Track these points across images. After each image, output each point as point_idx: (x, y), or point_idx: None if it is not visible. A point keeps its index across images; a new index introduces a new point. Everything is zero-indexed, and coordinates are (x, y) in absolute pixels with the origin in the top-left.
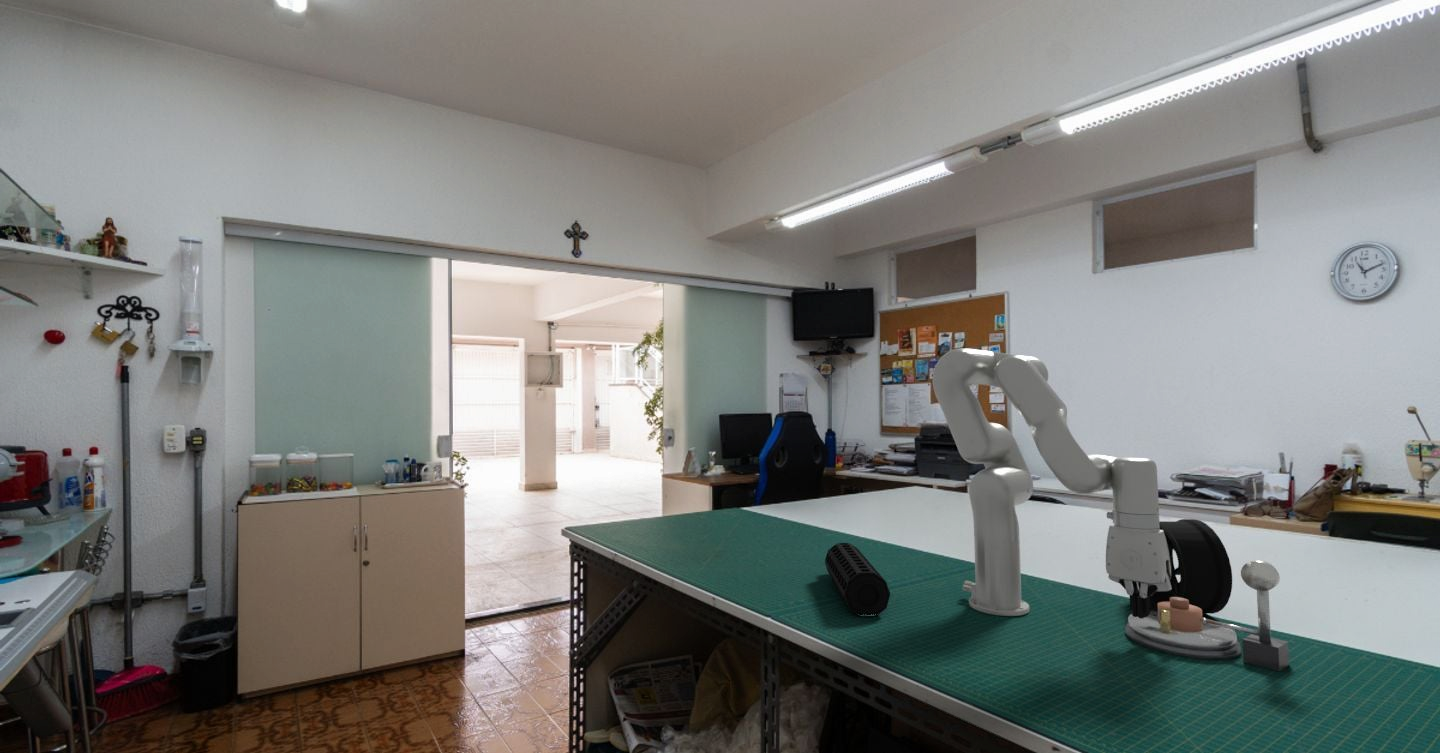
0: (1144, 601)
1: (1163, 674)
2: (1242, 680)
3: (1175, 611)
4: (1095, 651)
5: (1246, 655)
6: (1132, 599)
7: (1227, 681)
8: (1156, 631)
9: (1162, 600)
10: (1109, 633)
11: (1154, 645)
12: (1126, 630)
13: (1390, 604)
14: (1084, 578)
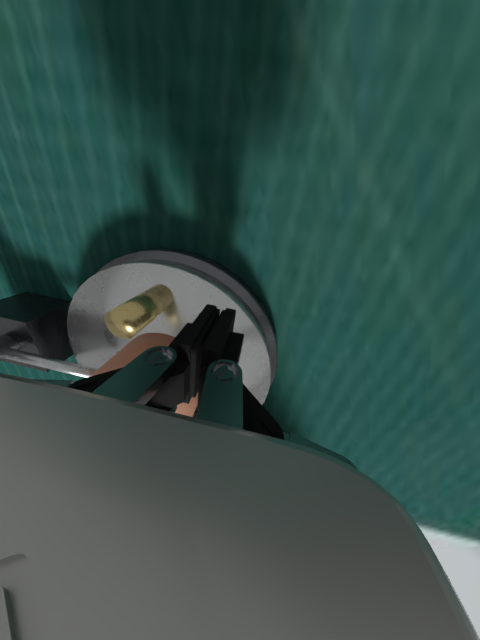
0: (176, 346)
1: (91, 7)
2: (6, 178)
3: (125, 363)
4: (321, 68)
5: (54, 306)
6: (218, 340)
7: (7, 135)
8: (179, 286)
9: None
10: (307, 305)
11: (190, 255)
12: (270, 324)
13: None
14: None
